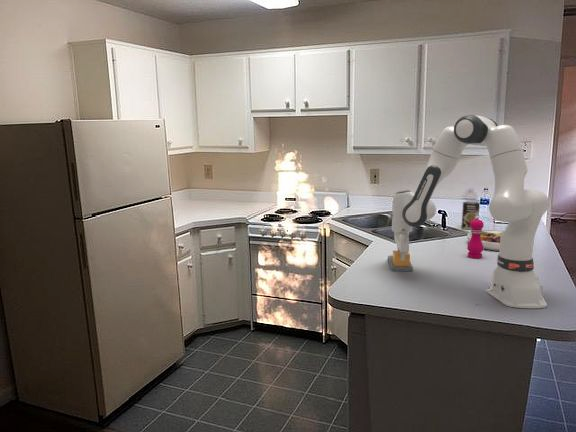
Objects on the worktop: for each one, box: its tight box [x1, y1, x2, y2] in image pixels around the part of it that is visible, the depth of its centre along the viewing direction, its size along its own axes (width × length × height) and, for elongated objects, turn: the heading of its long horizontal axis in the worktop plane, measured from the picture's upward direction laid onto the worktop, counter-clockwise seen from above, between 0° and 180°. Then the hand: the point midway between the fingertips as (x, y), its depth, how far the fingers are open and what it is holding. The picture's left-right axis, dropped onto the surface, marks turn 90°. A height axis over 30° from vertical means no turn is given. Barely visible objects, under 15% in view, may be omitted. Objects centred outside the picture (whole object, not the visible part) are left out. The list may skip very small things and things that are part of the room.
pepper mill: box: [466, 216, 484, 259], centre depth 220 cm, size 7×7×20 cm
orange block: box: [392, 250, 411, 266], centre depth 206 cm, size 7×7×5 cm
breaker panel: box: [387, 254, 414, 272], centre depth 211 cm, size 17×9×3 cm, turn 174°
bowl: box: [467, 229, 504, 252], centre depth 242 cm, size 30×30×8 cm
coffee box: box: [460, 201, 481, 231], centre depth 279 cm, size 9×6×16 cm
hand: (401, 257), depth 206 cm, fingers open, 8 cm apart
